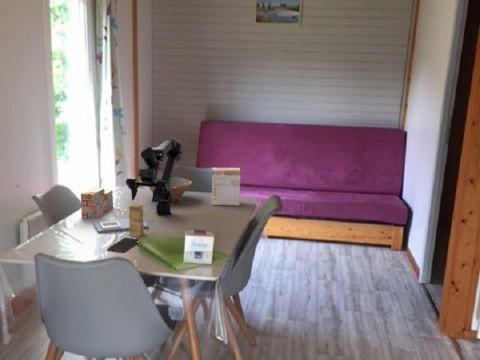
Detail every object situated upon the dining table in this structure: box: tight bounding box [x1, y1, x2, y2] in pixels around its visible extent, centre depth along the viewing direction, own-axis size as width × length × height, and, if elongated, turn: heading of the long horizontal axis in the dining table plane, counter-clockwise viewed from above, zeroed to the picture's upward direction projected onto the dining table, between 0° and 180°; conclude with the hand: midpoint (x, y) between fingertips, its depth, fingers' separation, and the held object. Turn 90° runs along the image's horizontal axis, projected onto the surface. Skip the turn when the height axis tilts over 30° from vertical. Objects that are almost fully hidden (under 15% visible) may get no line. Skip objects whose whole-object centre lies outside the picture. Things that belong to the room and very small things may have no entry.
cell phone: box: [106, 237, 140, 254], centre depth 194 cm, size 8×15×1 cm, turn 165°
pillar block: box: [128, 202, 145, 237], centre depth 207 cm, size 4×4×13 cm
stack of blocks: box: [80, 187, 114, 220], centre depth 237 cm, size 21×6×12 cm, turn 170°
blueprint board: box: [92, 217, 149, 234], centre depth 219 cm, size 22×14×2 cm, turn 116°
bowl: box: [148, 176, 192, 202], centre depth 267 cm, size 25×25×10 cm
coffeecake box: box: [211, 166, 241, 206], centre depth 261 cm, size 15×7×20 cm, turn 92°
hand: (142, 200), depth 213 cm, fingers open, 9 cm apart
